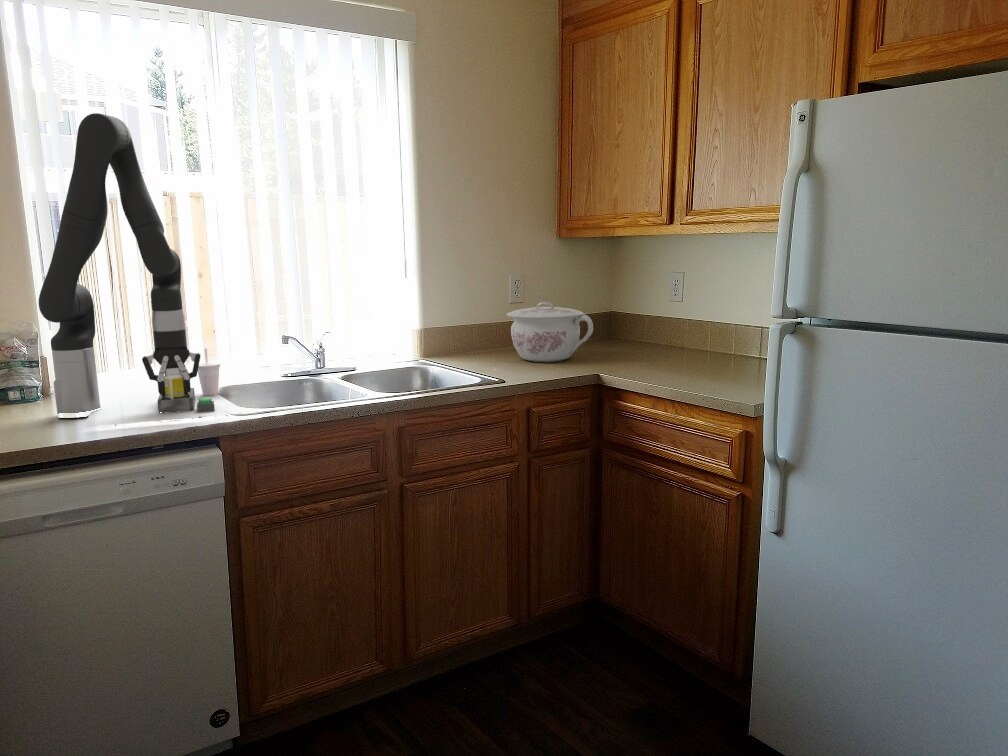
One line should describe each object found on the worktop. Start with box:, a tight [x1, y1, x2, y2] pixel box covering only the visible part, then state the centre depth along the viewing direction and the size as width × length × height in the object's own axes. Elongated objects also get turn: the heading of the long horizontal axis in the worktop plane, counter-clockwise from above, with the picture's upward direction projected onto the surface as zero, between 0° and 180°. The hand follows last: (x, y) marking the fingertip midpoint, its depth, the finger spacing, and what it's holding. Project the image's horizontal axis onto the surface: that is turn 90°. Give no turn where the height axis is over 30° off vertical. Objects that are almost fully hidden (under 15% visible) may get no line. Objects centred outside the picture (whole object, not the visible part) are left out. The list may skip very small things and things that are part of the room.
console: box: [196, 400, 216, 413], centre depth 191 cm, size 4×4×3 cm
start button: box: [197, 396, 213, 405], centre depth 191 cm, size 3×3×4 cm
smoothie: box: [197, 347, 221, 396], centre depth 211 cm, size 6×6×14 cm
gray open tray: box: [157, 387, 196, 414], centre depth 197 cm, size 8×17×4 cm, turn 21°
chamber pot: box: [506, 301, 594, 363], centre depth 269 cm, size 28×28×21 cm
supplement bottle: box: [163, 368, 186, 400], centre depth 192 cm, size 5×5×8 cm
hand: (175, 394), depth 193 cm, fingers closed on supplement bottle, 4 cm apart
